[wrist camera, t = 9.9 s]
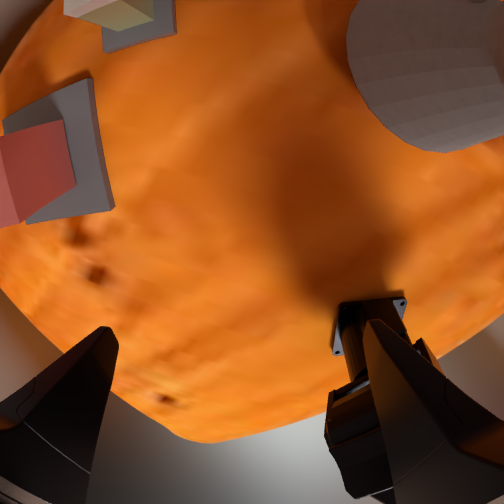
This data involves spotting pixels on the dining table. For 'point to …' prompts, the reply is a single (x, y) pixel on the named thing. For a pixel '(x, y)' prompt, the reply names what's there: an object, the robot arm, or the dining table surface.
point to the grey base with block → (126, 20)
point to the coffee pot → (431, 69)
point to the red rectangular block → (33, 170)
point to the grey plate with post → (71, 149)
